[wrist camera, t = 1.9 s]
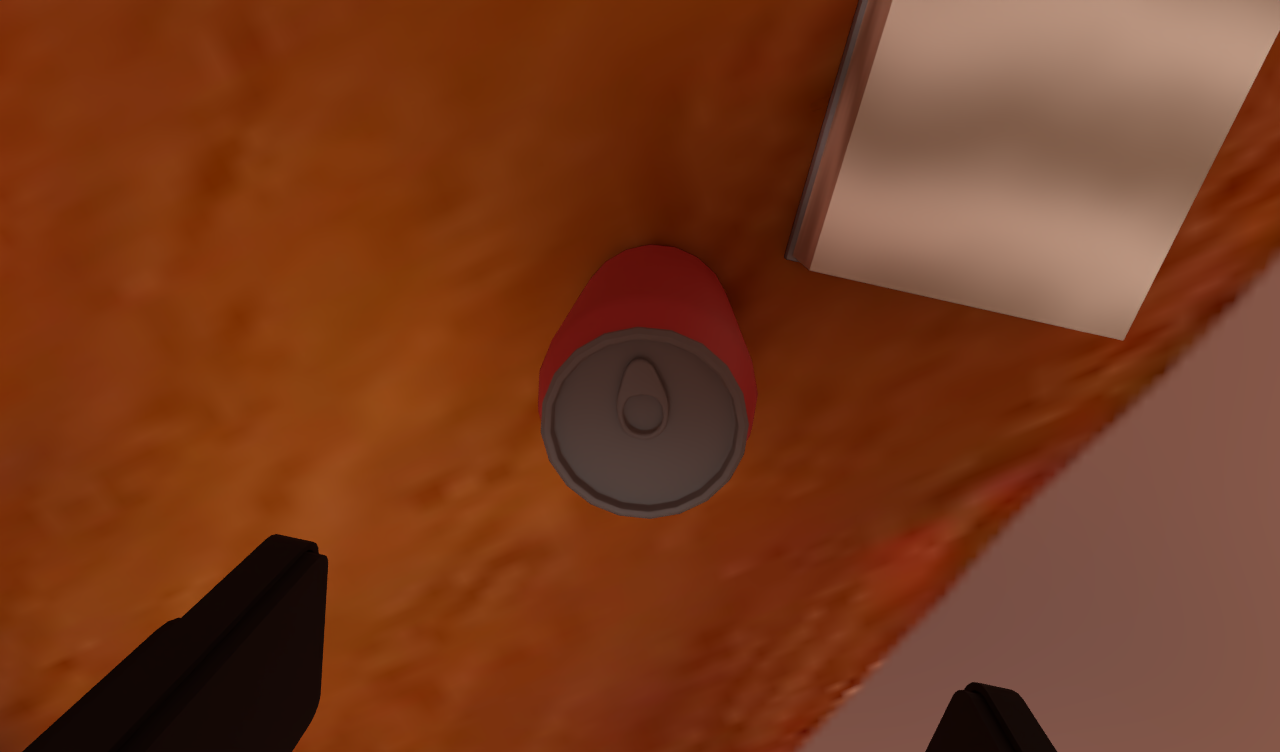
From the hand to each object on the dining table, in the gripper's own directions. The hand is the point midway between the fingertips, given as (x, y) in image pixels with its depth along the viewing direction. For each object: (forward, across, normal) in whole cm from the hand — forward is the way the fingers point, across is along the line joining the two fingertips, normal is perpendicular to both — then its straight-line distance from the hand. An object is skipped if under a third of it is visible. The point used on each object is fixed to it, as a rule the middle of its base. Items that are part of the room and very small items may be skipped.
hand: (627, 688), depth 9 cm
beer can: (+20, 0, -1) cm, 20 cm away
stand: (+20, -11, -11) cm, 25 cm away
